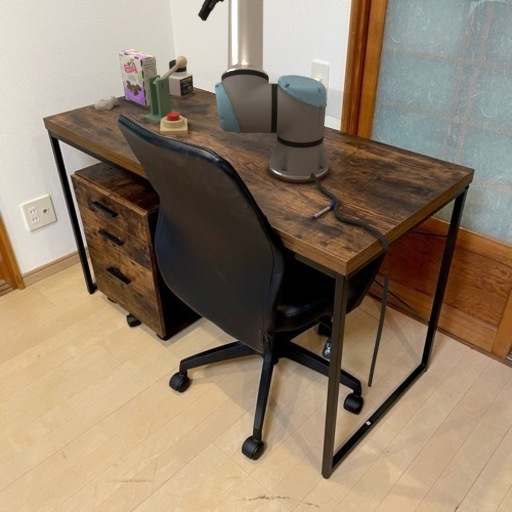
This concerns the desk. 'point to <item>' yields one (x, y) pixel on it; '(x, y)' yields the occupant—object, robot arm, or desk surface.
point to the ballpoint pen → (324, 210)
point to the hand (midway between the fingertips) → (201, 17)
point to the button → (173, 116)
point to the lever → (173, 68)
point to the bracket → (159, 98)
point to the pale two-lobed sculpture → (106, 104)
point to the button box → (173, 126)
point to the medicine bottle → (180, 81)
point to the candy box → (137, 74)
